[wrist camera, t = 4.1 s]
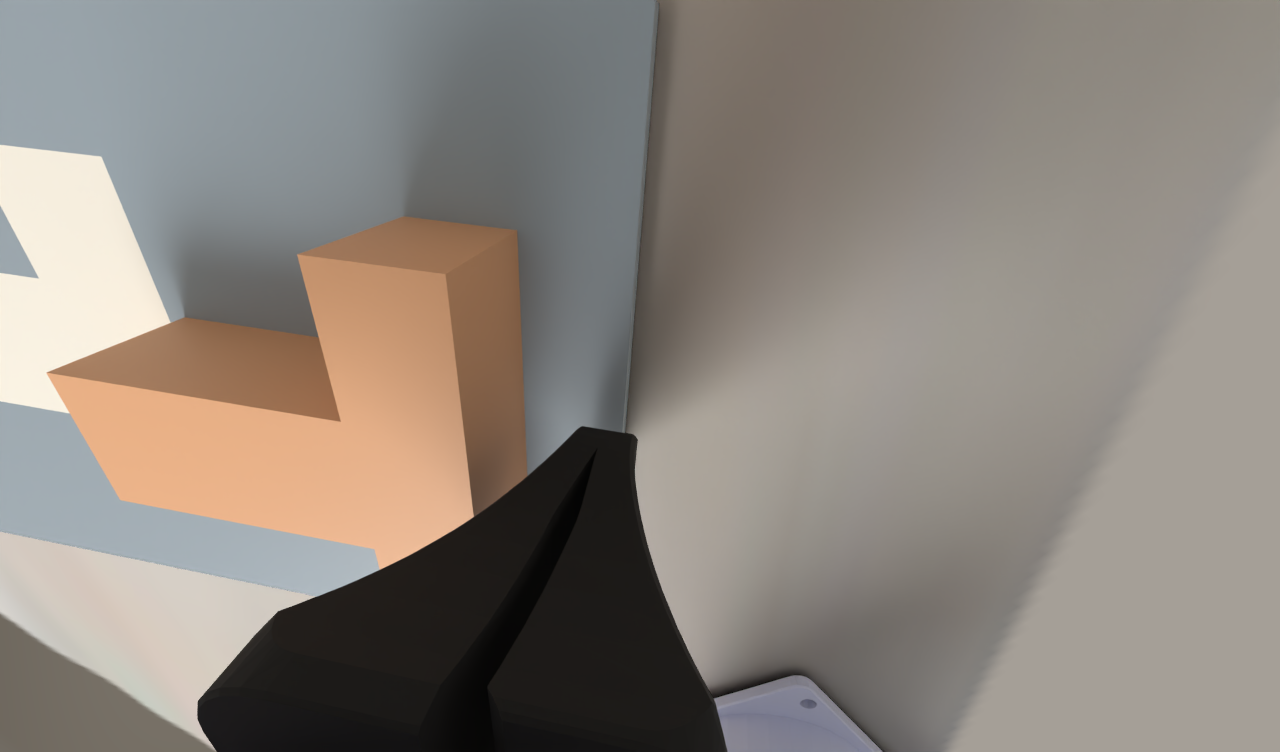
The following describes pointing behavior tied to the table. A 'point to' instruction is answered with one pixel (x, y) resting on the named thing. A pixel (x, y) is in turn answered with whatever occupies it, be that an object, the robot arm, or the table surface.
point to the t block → (330, 397)
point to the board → (299, 210)
